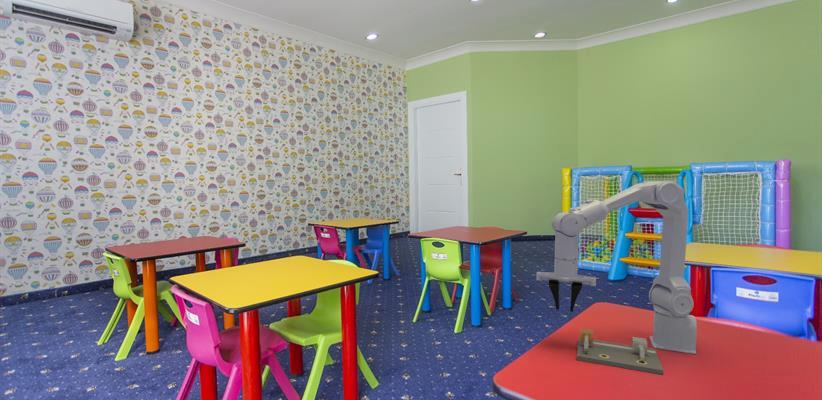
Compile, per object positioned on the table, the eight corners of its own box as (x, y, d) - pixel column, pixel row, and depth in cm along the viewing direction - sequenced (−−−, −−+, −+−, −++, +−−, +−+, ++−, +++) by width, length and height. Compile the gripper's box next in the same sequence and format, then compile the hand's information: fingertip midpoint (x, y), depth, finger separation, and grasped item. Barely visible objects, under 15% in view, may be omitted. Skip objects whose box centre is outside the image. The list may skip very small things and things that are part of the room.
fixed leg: (645, 350, 102) (645, 338, 102) (649, 363, 95) (650, 350, 95) (631, 348, 104) (632, 336, 103) (634, 360, 96) (635, 348, 96)
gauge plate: (655, 352, 104) (655, 345, 104) (663, 374, 92) (663, 366, 92) (578, 341, 111) (578, 334, 111) (576, 359, 99) (576, 352, 99)
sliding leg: (592, 342, 107) (593, 330, 107) (592, 353, 100) (593, 340, 100) (580, 340, 108) (580, 328, 108) (579, 351, 101) (579, 338, 101)
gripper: (535, 258, 107) (534, 310, 107) (596, 263, 101) (594, 318, 102) (538, 254, 113) (537, 303, 114) (596, 258, 107) (594, 310, 108)
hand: (564, 309), depth 108 cm, fingers open, 3 cm apart
